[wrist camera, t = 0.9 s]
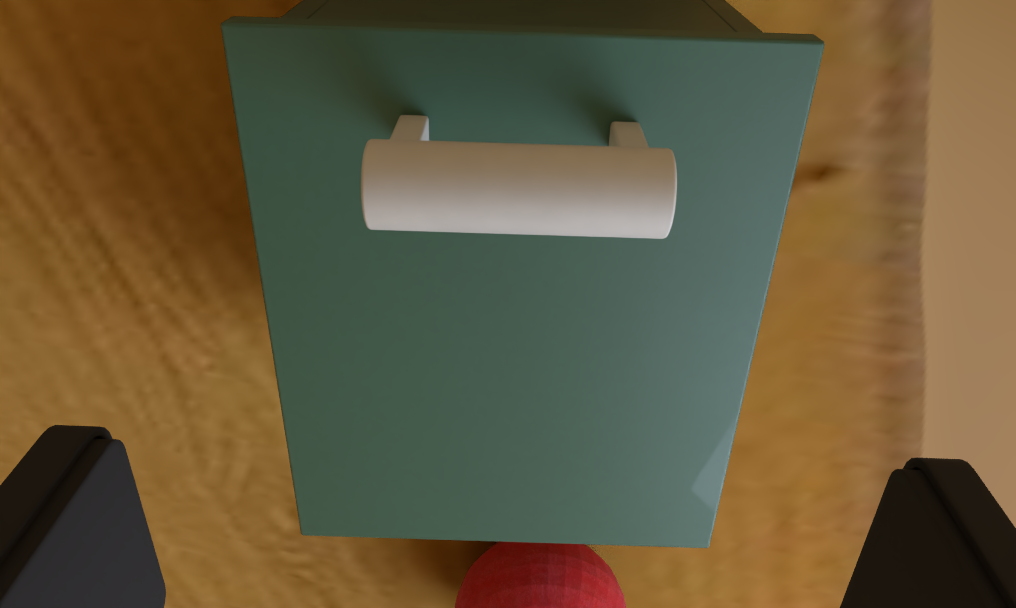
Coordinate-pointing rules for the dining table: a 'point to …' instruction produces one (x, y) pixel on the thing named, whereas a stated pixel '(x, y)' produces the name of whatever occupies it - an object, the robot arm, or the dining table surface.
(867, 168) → the dining table surface
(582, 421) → the lid
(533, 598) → the red apple
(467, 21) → the chest
